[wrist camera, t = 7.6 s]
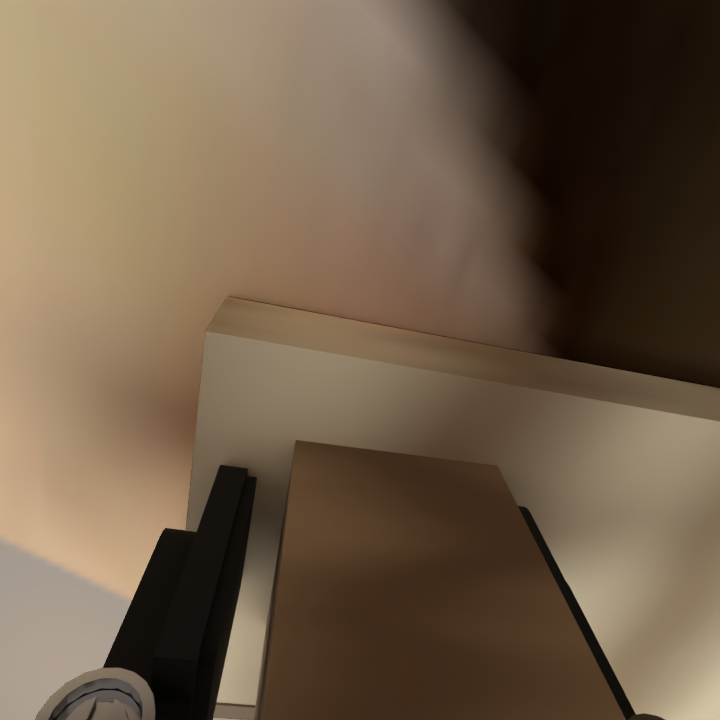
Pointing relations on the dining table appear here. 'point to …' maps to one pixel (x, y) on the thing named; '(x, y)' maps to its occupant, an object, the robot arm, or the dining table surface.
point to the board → (493, 447)
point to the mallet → (416, 599)
